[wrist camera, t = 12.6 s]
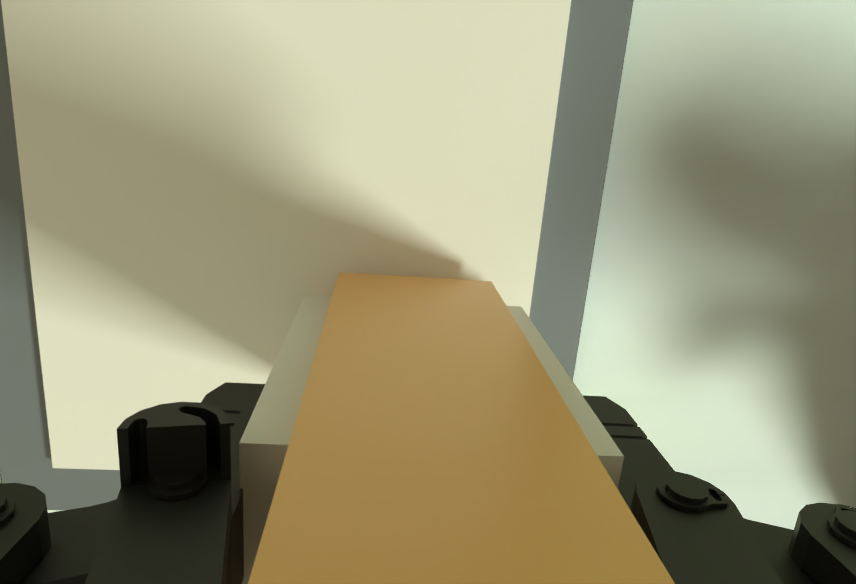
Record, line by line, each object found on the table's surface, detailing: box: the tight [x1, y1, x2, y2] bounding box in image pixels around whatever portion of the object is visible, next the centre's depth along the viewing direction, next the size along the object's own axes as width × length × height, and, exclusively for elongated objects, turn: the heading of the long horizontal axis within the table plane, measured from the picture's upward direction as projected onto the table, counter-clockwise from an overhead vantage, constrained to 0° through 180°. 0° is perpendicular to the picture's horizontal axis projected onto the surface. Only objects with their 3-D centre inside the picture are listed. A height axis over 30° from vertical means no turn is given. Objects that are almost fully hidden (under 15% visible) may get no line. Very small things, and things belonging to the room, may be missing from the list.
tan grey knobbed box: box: [248, 272, 675, 584], centre depth 9 cm, size 4×4×13 cm
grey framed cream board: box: [0, 0, 633, 510], centre depth 14 cm, size 20×15×1 cm
